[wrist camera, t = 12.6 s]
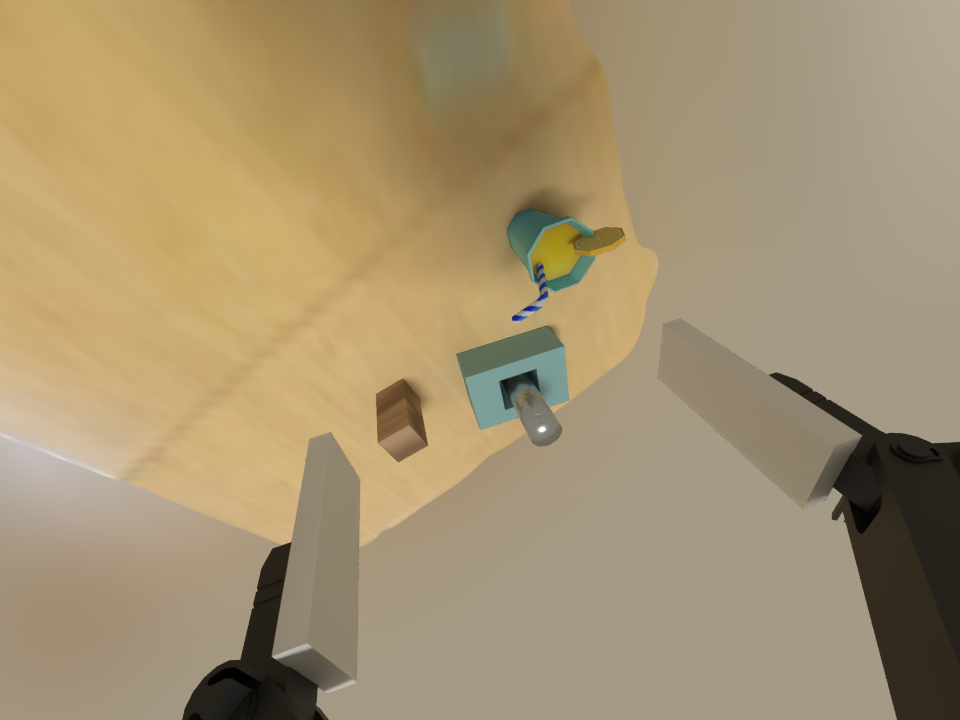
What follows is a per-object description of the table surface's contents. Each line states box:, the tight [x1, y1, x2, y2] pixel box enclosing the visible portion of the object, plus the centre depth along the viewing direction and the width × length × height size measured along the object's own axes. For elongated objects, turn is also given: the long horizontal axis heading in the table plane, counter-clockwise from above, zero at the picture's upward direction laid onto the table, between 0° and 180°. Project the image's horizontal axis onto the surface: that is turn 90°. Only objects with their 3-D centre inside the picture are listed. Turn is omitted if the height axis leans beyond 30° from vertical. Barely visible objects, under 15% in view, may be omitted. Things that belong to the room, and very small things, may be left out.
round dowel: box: [500, 372, 562, 446], centre depth 52 cm, size 4×4×15 cm
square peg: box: [376, 379, 428, 462], centre depth 52 cm, size 4×4×10 cm
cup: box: [507, 209, 626, 324], centre depth 41 cm, size 14×8×15 cm, turn 128°
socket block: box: [456, 326, 569, 430], centre depth 55 cm, size 10×14×6 cm
